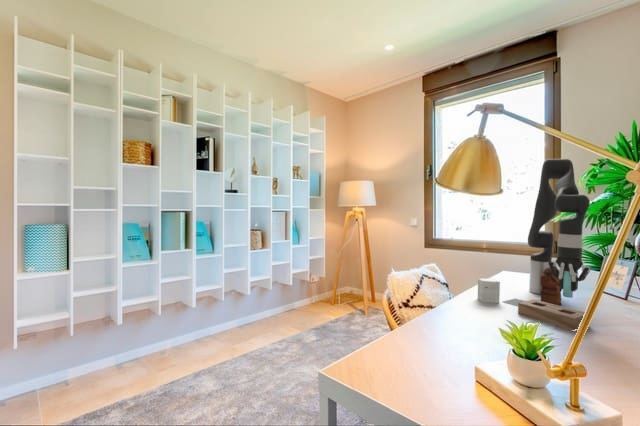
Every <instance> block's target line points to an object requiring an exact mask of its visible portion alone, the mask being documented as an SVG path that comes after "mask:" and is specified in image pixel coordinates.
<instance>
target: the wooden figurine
mask: <svg viewBox="0 0 640 426" xmlns="http://www.w3.org/2000/svg"><path fill="white" fill-rule="evenodd" d="M559 271H560V269H558V272H559ZM540 284H541V286H542V289H541V294H540V301H543V302H546V303H550V304H554V305H558V306H561V305H562V294H561V292H563V289H561V288H560V287H559V278H557V277H554V275H553V273H552V271H551V268H550V267H547V268H545V270H544V271H543V274H542V276H541V283H540Z"/></svg>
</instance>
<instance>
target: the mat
mask: <svg viewBox="0 0 640 426" xmlns="http://www.w3.org/2000/svg"><path fill="white" fill-rule="evenodd" d="M524 301H525V300H523V299H519V298H512V299H506V300H503V301H502V303H504V304H507V305H509V306H510V305H511V306H514V307H517V308H518V303H520V302H524Z"/></svg>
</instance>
